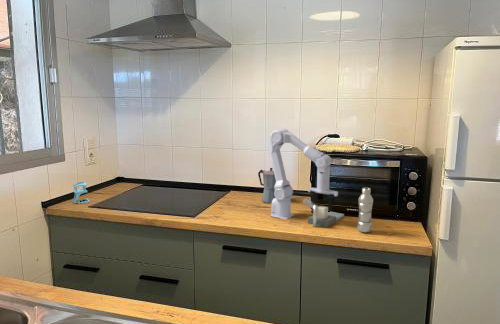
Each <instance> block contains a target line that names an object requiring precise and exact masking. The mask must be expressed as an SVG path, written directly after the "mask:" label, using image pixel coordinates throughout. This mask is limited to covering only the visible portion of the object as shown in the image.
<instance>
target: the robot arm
mask: <svg viewBox="0 0 500 324" xmlns="http://www.w3.org/2000/svg"><path fill="white" fill-rule="evenodd" d="M287 143H288V144H291V145H293V146H295V147H296V148H298V150H300V151H302V152H303V155H304V156H305V157H306V158H308V159H309V160H311V162H313V163H314V164H315V167H317V171H316V172H317V173H316V175H317V176H316V187H308V190H307V192H308V193H309V197H310V199H311V202H313V203H315V204H316V205H318V197H319V194H322V195H327V204H328V205H327V207H328V211H332V209H333V205H334V202H335V200H336V198H337V197H339V191H337V190H332V189H330V175H331V173H330V172H331V169H330V168H331V164H332V158H331V156H330V155H328V154H325V153H324V152H321V151H320V150H319V149H317V147H316V146H315V145H308V144H306V143H305V142H303V141H302V140H301V139H300V138H298V137H297V136H296V135H295V134H294V133H293V132H291V131H289V130H288V129H286V128H283V129H278V130H277V129H276V130H273V131H272V132H271V134H269V144H268V152H269V158H270V161H271V166H272V168H273V169H272V171H274V175H275V179H276V184H275V186H274V188H275V192H274V195H275V198H274V199H273V200H272V203H270V204H271V212H270V213H271V214H270V217H272V218H273V217H274V218H277V219H278V218H279V219H282V220H283V219H284V220H288V219H290V218H292V217H294V216H295V214H293V213H291V211H292V210H291V209H292V208H291V207H292V197H291V196H292V195H294V189H293V187H292V186H291V183H290V181H289V180H288V179H287V175H286V172H285V171H286V170H285V167H284V162H283V158H282V154H281V153H282V152H281V148H282V146H283V145H284V144H287Z"/></svg>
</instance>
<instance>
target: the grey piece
mask: <svg viewBox="0 0 500 324" xmlns="http://www.w3.org/2000/svg"><path fill="white" fill-rule="evenodd" d="M303 204H304V205H306V206H308V207H309V208H311V209H312V211H313V212H312V213H313V214H312V215H313V225H312V228H318V226H317V218H318V207H319V205H318V204H317V205H316V204H315V203H313V202H312V200H309V199H308V198H303Z"/></svg>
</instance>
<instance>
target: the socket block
mask: <svg viewBox="0 0 500 324" xmlns="http://www.w3.org/2000/svg"><path fill="white" fill-rule="evenodd" d="M335 223H337V221H336V216H331V215H328V218H327V219H325V220H323V219H319V218H317V227H323V228H329V227H330V226H332V225H333V224H335ZM307 224H309V225H312V226H313V214H312V215H310V216H308V217H307Z"/></svg>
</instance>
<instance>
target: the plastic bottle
mask: <svg viewBox="0 0 500 324" xmlns="http://www.w3.org/2000/svg"><path fill="white" fill-rule="evenodd" d="M371 192H372V191H371V187H362V188H361V194H360V196H359V197H358V219H357V223H356V227H357V228H356V229H357V231H359V232H361V233H370V232H371V231H372V229H373V224H372V209H373V204H374V198H373V197H372V195H371Z"/></svg>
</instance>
